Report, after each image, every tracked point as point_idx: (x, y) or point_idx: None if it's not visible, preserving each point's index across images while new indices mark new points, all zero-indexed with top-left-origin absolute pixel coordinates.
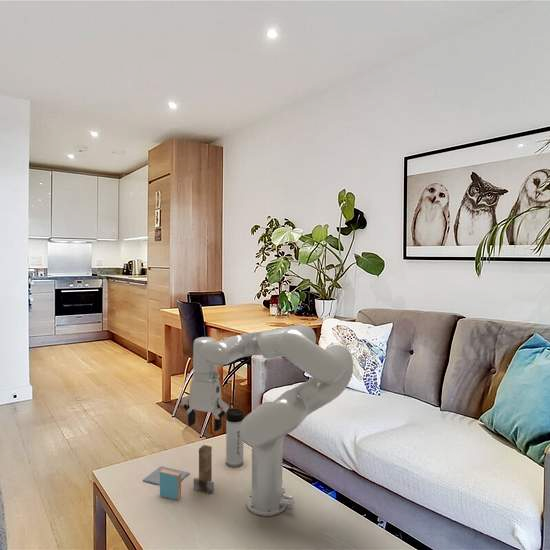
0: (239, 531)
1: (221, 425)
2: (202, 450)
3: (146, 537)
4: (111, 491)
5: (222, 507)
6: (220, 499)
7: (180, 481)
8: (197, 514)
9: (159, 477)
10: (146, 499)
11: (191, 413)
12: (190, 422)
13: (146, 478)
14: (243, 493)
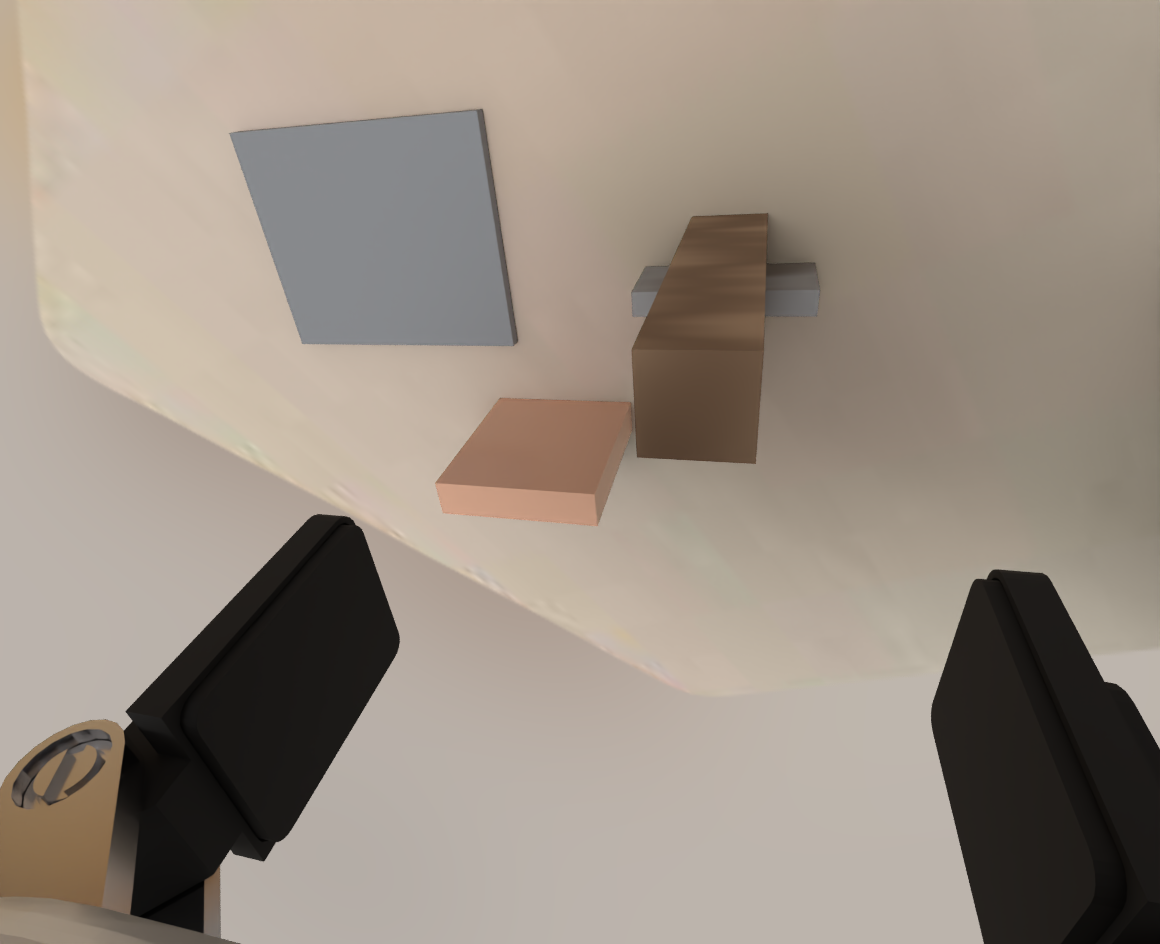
0: (1153, 564)
1: (1128, 696)
2: (691, 455)
3: (674, 668)
4: (280, 469)
5: (959, 402)
6: (908, 326)
7: (607, 467)
8: (817, 503)
9: (356, 281)
10: None
11: (234, 829)
12: (368, 700)
13: (306, 325)
14: (1106, 166)
